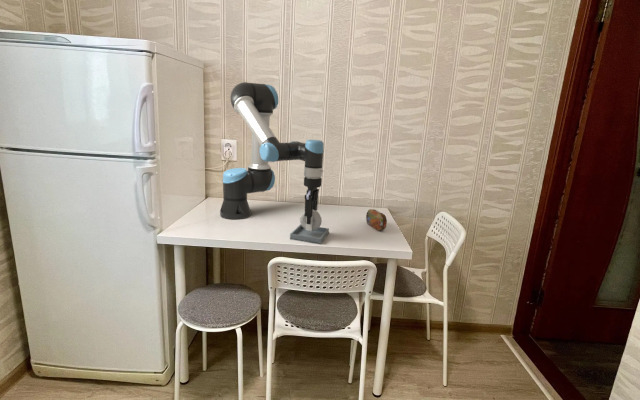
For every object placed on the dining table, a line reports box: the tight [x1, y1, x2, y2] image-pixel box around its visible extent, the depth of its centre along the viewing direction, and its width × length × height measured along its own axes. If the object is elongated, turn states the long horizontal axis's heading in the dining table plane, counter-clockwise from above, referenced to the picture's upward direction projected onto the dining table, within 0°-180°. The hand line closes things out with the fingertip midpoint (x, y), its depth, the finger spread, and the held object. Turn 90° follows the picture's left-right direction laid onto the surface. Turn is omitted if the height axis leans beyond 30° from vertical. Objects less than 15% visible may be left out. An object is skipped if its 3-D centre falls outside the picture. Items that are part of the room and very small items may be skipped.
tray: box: [289, 223, 330, 245], centre depth 151 cm, size 14×14×2 cm
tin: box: [365, 208, 388, 232], centre depth 166 cm, size 15×3×8 cm, turn 23°
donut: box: [299, 210, 322, 231], centre depth 149 cm, size 10×4×10 cm, turn 74°
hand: (310, 228), depth 150 cm, fingers closed on donut, 3 cm apart
